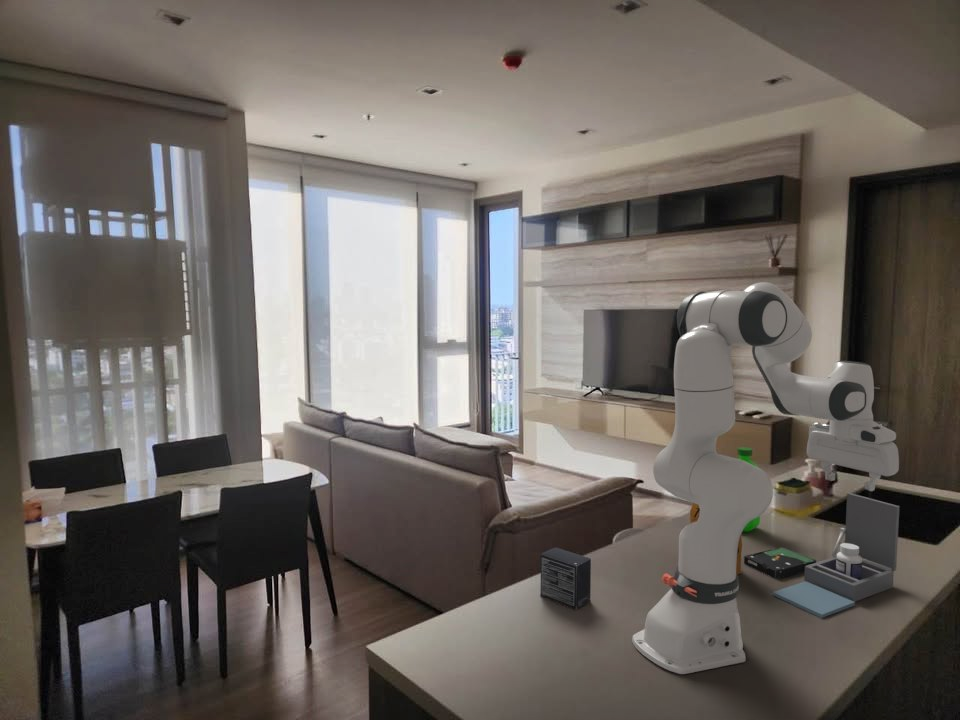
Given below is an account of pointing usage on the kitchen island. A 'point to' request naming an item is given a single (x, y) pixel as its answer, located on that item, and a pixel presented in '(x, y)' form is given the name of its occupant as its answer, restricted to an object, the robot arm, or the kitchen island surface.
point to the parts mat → (814, 599)
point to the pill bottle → (849, 561)
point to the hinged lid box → (862, 550)
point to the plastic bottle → (745, 456)
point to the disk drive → (778, 562)
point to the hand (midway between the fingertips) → (849, 485)
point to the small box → (565, 577)
